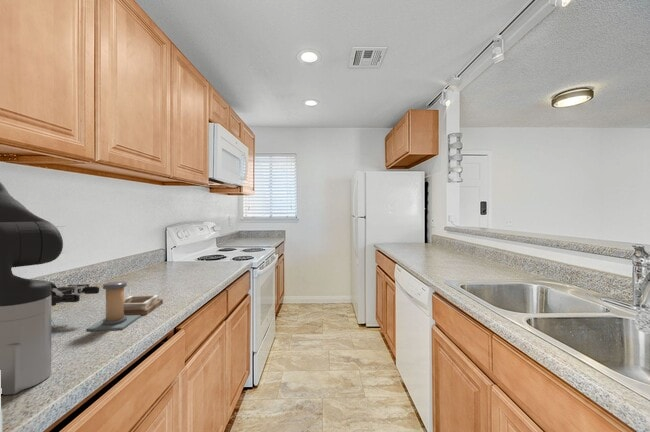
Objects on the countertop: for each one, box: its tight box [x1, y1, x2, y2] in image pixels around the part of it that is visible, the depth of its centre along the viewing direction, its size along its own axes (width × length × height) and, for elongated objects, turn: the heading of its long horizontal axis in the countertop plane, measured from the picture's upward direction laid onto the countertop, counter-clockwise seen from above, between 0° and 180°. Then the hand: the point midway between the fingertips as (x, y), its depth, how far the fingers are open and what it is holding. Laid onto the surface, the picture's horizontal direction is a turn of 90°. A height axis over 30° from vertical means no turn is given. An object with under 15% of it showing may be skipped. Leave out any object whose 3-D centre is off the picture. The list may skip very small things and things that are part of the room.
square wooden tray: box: [124, 294, 164, 316], centre depth 101 cm, size 12×12×4 cm
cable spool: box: [102, 280, 128, 325], centre depth 88 cm, size 6×6×12 cm
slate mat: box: [86, 315, 142, 332], centre depth 88 cm, size 10×10×1 cm
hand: (89, 293), depth 87 cm, fingers open, 8 cm apart
